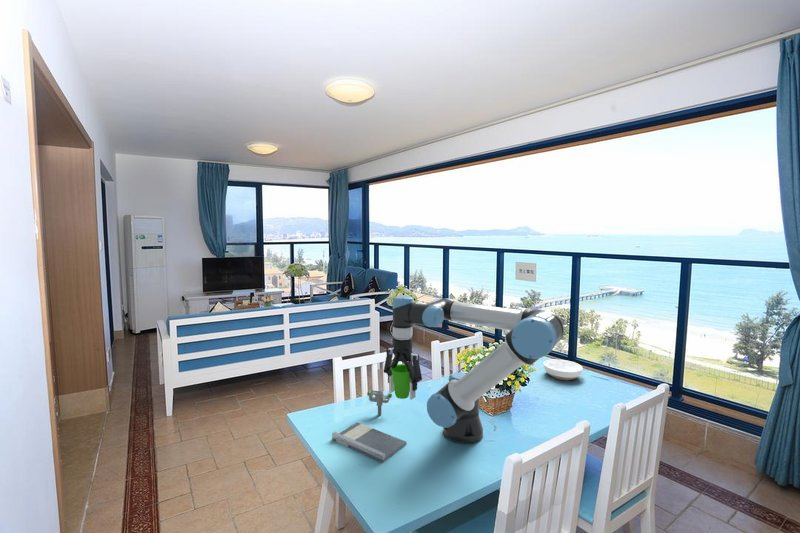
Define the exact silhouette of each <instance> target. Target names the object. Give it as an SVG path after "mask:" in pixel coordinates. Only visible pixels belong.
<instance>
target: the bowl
mask: <svg viewBox="0 0 800 533" xmlns="http://www.w3.org/2000/svg"><path fill="white" fill-rule="evenodd" d="M543 369H544V371H545V372H546V373H547V374H548V375H549V376H551V377H553V378H554V379H557V380H561V381H571V380H575V379H577V378H578V377H580V376H581V375H582V374H583V370H584V368H583V366H582V365H580V364H579V363H577V362H575V361H570V360H566V359H558V358H554V359H553V358H552V359H547V360H545V361H543Z"/></svg>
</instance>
